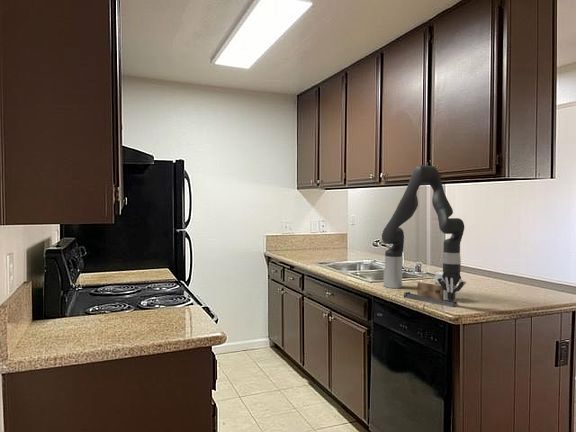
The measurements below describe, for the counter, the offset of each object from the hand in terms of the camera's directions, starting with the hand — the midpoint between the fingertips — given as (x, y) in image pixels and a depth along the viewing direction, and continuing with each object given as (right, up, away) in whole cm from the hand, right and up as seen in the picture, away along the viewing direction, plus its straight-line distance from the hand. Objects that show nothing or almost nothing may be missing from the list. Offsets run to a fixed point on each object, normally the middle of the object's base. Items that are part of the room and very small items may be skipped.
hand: (451, 300), depth 194 cm
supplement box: (+2, -2, +14) cm, 14 cm away
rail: (-7, -2, +8) cm, 11 cm away
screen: (-7, -1, +8) cm, 11 cm away
